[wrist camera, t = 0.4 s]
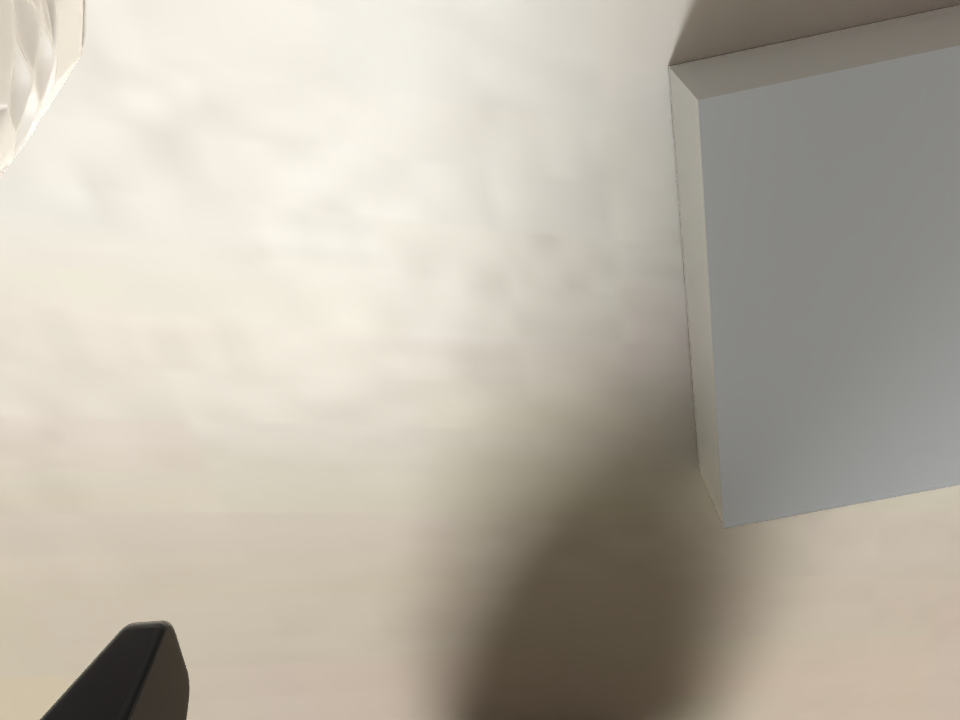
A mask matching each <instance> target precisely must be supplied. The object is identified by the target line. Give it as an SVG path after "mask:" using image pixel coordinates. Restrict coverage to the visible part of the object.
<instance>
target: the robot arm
mask: <svg viewBox="0 0 960 720" xmlns="http://www.w3.org/2000/svg"><path fill="white" fill-rule="evenodd" d="M188 702H189V677H188V672H187V669H186V665H185V662H184V659H183V656H182V653H181V649H180V646H179V643H178V640H177V636H176V633H175V630H174V628H173V626H172V625H171V624H170V623H169V622H167V621H151V622H137V623H131V624H129V625H127V626H126V627H124V628H123V629H122V630H121V631H120V632H119V633H118V634H117V635H116V636H115V637H114V639H113V640H112V641H111V642H110V643H109V644H108V645H107V646H106V647H105V649H104V650H103V651H102V652H101V653H100V654H99V655H98V656H97V657H96V658H95V660H94V661H93V662H92V663H91V664H90V665H89V666H88V667H87V668H86V669H85V671H84V672H83V673H82V674H81V675H80V676H79V677H78V678H77V679H76V681H75V682H74V683H73V684H72V685H71V686H70V687H69V688H68V689H67V690H66V692H65V693H64V694H63V695H62V696H61V697H60V698H59V699H58V700H57V702H56V703H55V704H54V705H53V706H52V707H51V708H50V709H49V710H48V711H47V713H46V714H45V715H44V716H43V717H42V718H41V719H40V720H186V718H187V710H188Z"/></svg>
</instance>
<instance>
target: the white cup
mask: <svg viewBox="0 0 960 720" xmlns="http://www.w3.org/2000/svg"><path fill="white" fill-rule="evenodd" d="M83 5H84V0H0V178H1V176H2V175H3V174H4V172H5V171H6V170H7V168H8V167H9V166H10V165H11V164H12V161H13V160H14V158H15V157H16V155H17V154H18V153H19V152H20V150H21V149H22V148H23V147H24V145H25V144H26V143H27V141H28V140H29V139H30V137H31V136H32V134H33V133H34V131H35V129H36V127H37V124H38V121H39V120H40V119H41V118H42V117H43V115H44V114H45V113H46V112H47V110H48V109H49V107H50V106H51V104H52V103H53V101H54V99H55V98H56V96H57V95H58V93H59V91H60V90H61V88H62V86H63V85H64V83H65V82H66V80H67V78H68V77H69V75H70V74H71V72H72V70H73V69H74V67H75V65H76V64H77V62H78V61H79V59H80V57H81V55H82V33H83Z"/></svg>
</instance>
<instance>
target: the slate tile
mask: <svg viewBox="0 0 960 720" xmlns="http://www.w3.org/2000/svg"><path fill="white" fill-rule="evenodd" d="M668 69H669V82H670V95H671V108H672V121H673V134H674V147H675V160H676V174H677V187H678V200H679V213H680V226H681V239H682V252H683V265H684V279H685V292H686V305H687V318H688V331H689V344H690V357H691V370H692V383H693V397H694V410H695V423H696V436H697V449H698V462H699V471H700V473H701V476H702V478H703V480H704V483H705V485H706V488H707V490H708V492H709V495H710V497H711V500H712V502H713V504H714V507H715V509H716V512H717V514H718V516H719V519H720V521H721V524H722V526H723V528H724V529H725V528H730V527H736V526H741V525H746V524H752V523H757V522H762V521H768V520H773V519H779V518H784V517H789V516H795V515H800V514H806V513H811V512H816V511H822V510H827V509H832V508H838V507H843V506H849V505H854V504H859V503H865V502H870V501H876V500H881V499H886V498H892V497H897V496H903V495H908V494H913V493H919V492H924V491H929V490H935V489H940V488H946V487H951V486H956V485H960V5H956V6H952V7H947V8H942V9H937V10H933V11H928V12H923V13H918V14H914V15H909V16H904V17H900V18H895V19H890V20H885V21H881V22H876V23H871V24H866V25H862V26H857V27H852V28H848V29H843V30H838V31H833V32H829V33H824V34H819V35H814V36H810V37H805V38H800V39H795V40H791V41H786V42H781V43H777V44H772V45H767V46H762V47H758V48H753V49H748V50H743V51H739V52H734V53H729V54H724V55H720V56H715V57H710V58H706V59H701V60H696V61H691V62H687V63H682V64H677V65H672V66H668Z"/></svg>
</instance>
